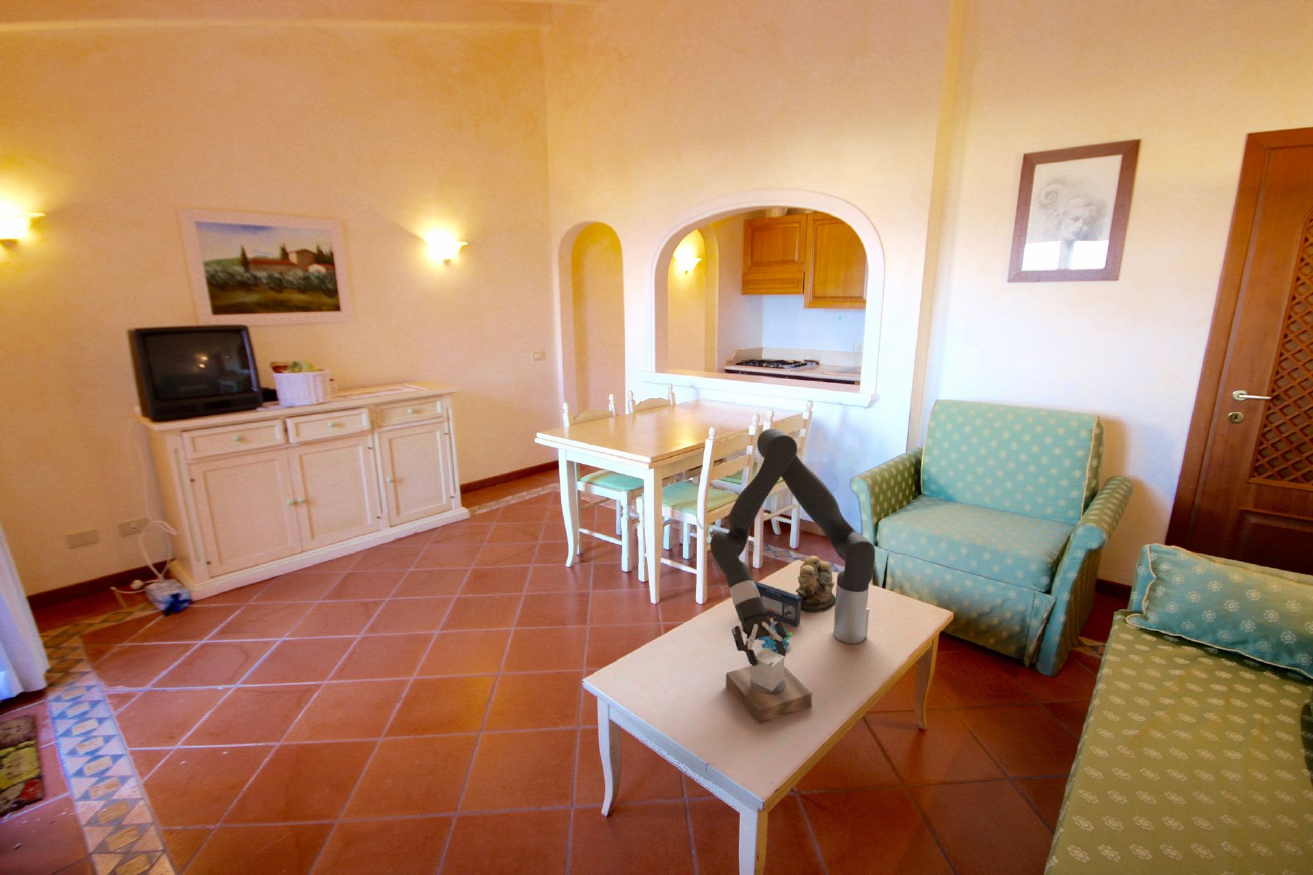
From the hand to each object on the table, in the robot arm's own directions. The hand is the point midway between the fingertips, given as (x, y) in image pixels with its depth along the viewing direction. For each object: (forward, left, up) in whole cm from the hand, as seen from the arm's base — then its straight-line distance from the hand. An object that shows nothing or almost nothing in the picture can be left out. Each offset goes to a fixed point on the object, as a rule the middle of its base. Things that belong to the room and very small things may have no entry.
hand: (769, 661), depth 152 cm
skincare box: (0, 0, -6) cm, 6 cm away
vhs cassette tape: (-24, -33, -11) cm, 42 cm away
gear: (-14, -18, -11) cm, 25 cm away
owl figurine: (-42, -35, -11) cm, 56 cm away
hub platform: (0, 0, -10) cm, 10 cm away
